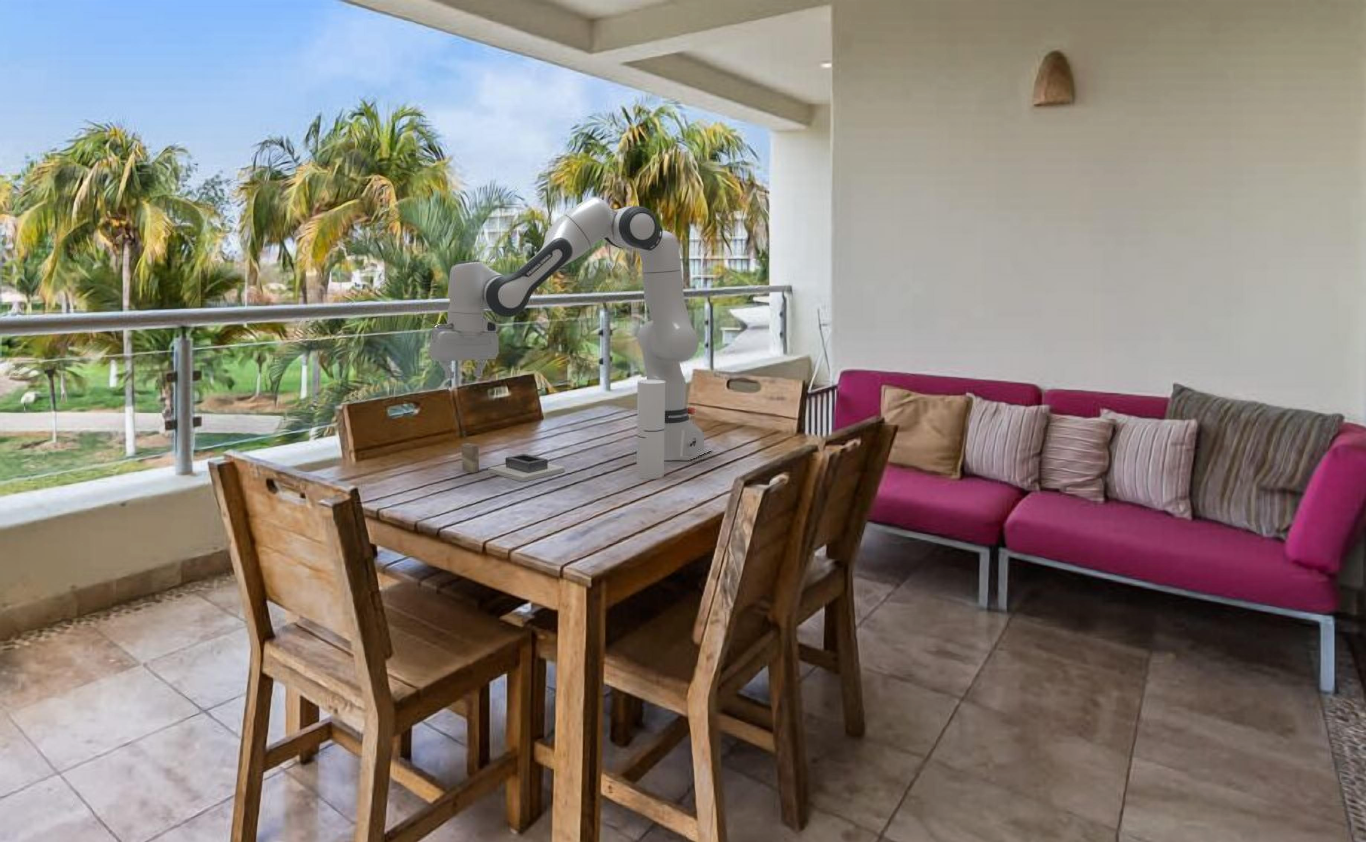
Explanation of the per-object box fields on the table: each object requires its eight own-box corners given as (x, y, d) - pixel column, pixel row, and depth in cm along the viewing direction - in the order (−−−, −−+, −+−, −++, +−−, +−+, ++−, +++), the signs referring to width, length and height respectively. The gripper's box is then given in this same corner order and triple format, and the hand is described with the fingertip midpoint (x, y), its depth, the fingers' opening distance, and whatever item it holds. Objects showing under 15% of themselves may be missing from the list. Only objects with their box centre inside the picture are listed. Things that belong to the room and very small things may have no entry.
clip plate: (530, 463, 225) (529, 458, 225) (564, 471, 216) (564, 467, 216) (488, 472, 214) (488, 467, 214) (523, 482, 206) (522, 477, 205)
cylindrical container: (660, 479, 210) (661, 384, 205) (633, 477, 212) (634, 382, 207) (666, 473, 217) (667, 380, 212) (640, 471, 218) (641, 379, 214)
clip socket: (524, 462, 220) (524, 453, 220) (547, 468, 215) (547, 459, 214) (505, 466, 216) (505, 457, 215) (528, 473, 210) (528, 463, 209)
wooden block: (468, 468, 218) (467, 442, 217) (479, 471, 215) (478, 445, 214) (462, 469, 217) (461, 444, 215) (472, 472, 214) (472, 446, 212)
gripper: (441, 325, 198) (439, 381, 201) (503, 325, 215) (501, 376, 218) (424, 322, 202) (423, 378, 204) (486, 323, 219) (485, 374, 221)
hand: (463, 377), depth 211 cm, fingers open, 8 cm apart
